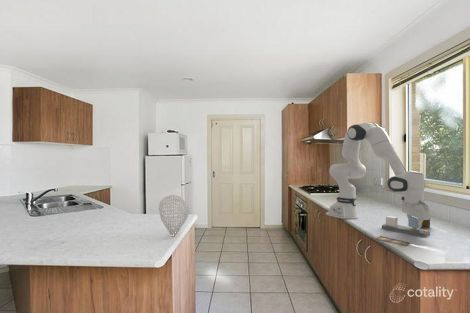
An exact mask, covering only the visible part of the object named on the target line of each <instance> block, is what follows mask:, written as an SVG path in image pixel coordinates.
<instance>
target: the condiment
mask: <svg viewBox="0 0 470 313" xmlns="http://www.w3.org/2000/svg"><path fill="white" fill-rule="evenodd" d="M420 228H421V229H430V228H431V218H430V219H429V220H423V222H422V226H421V227H420Z"/></svg>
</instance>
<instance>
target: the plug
mask: <svg viewBox="0 0 470 313" xmlns="http://www.w3.org/2000/svg"><path fill="white" fill-rule="evenodd" d="M398 219H399V218H398V216H392V215H387V216H385V224H386V225H388V226H393V227H396V226H398V225H399V224H398V223H399V222H398Z"/></svg>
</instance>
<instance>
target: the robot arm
mask: <svg viewBox="0 0 470 313" xmlns="http://www.w3.org/2000/svg"><path fill="white" fill-rule="evenodd" d="M343 139H344V140H343V144H342V150H341V155H342V157H343V159H345V160H346V161H348V162H347V163H334V164H331V166H330V167H329V170H328V172H329V175H330V176H331V177H332V178H333V179H334V180H335V182H336V183H337V185H338V189H339V190H338V193H339V194H338V195H339V196H338V197H336V202H335V203H333V204H331V205H329V209H328V211H327V212H325V215H327V216H329V217H330V216H331V217H333V218H337V219H343V220H344V219H345V220H346V219H347V220H349V219H351V220H352V219H358V218H359V214H358V212H357V204H358V203H357V198H356V197H357V196H356V195H357V191H356V190H357V188H356V186H355V185H353V184H352V182H351V183H350V182H349V179H360V178H361V179H362V178H364V177H365V175H366V173H367V169H366V166H365V165H364V164H363V163H361V160H360V157H359V156H360V148H361V143H362V141H366V140H367V141H368V142H369V144H370V147H371V149H372V151H373V153H374V154H375V156H376V157H377V158H379V159H381V160H383V161H385V162H387V163H388V164H389V166H390V168H391V170H392V172H393V174H394V176H391V177H389V178H388V180H387V182H386V183H387V188H388V189H389V190H390V191H392V192H395V193H402V192H405V195H403V196H400V200H401V202H400V208H401V212H402V213H405V214H406V216H407V220H408V222H409V217H416V218H418V222H417V225H418V226H422V222H423V220H429V219H430V220H431V213H430V207H429V205H428V204H427V202H425V199H426V198H425V196H426V195H425V186H426V185H425V184H426V183H425V181H426V180H425V176H424V174H423V173H422V172H420V171H416V170H408V171H407V170H406V168H405V166H404V165H403V162H402V161H401V159H400V157H399V156H398V153H397V152H396V150H395V147H394V146H393V145H394V144H393V143H392V141H391V138H390V137H389V135H388V133H387V131H386V130H385V129H384V128H383V127H381V126H380V125H379V124H377V123H375V122H362V123H358V124H357V123H355V124H353V125H350V126H349V127H348V128H347V132H346V133H345V135H344V138H343Z"/></svg>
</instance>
